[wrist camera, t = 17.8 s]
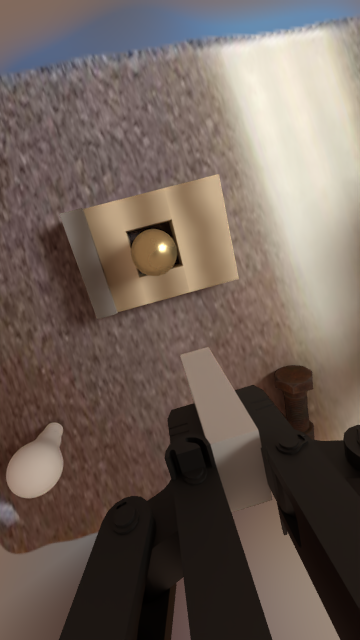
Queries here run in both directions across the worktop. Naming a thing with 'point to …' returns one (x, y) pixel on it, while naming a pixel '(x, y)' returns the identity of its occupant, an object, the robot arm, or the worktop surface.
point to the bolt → (296, 396)
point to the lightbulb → (37, 464)
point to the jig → (141, 212)
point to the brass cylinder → (153, 252)
